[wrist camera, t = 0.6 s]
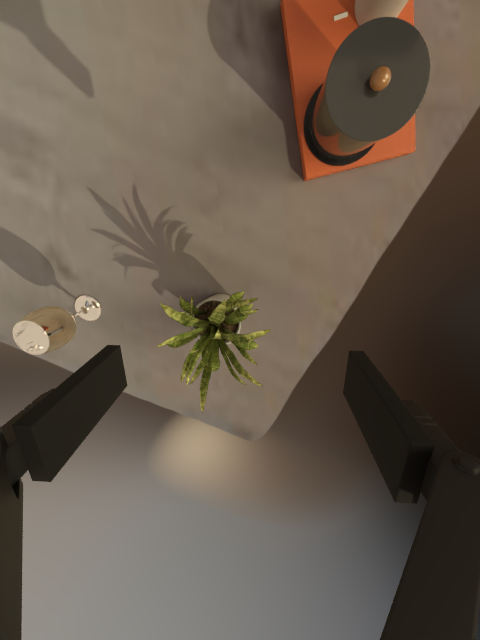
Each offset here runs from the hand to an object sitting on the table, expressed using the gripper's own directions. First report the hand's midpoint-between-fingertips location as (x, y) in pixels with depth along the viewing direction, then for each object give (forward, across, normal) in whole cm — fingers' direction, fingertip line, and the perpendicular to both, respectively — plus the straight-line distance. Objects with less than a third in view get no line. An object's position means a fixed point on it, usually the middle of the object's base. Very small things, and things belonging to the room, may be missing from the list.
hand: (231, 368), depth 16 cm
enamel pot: (+25, +11, +19) cm, 33 cm away
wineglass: (+28, -27, -6) cm, 39 cm away
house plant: (+28, -4, -7) cm, 29 cm away
